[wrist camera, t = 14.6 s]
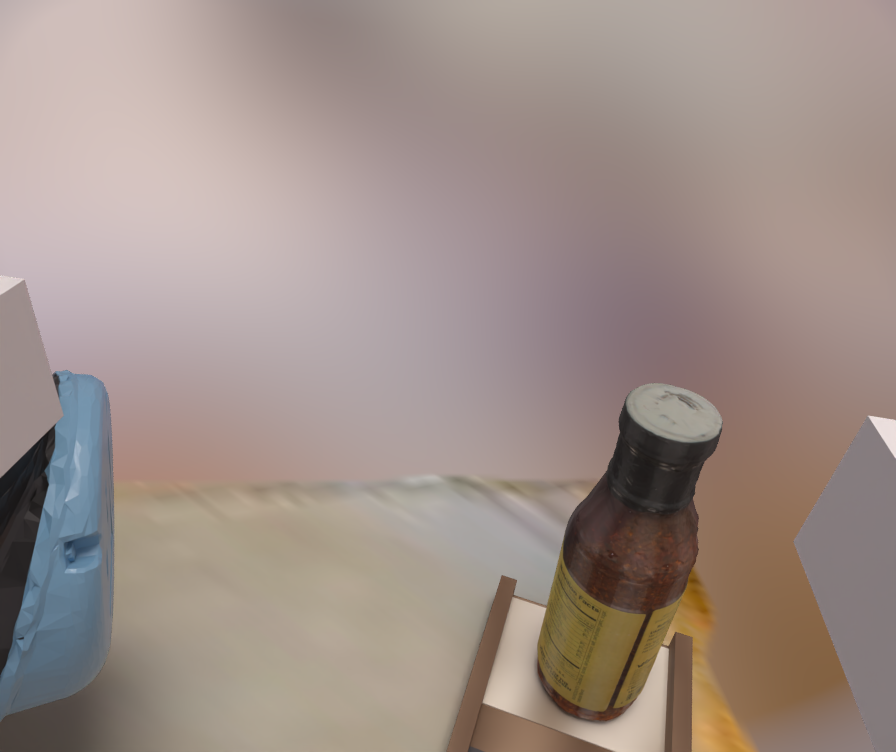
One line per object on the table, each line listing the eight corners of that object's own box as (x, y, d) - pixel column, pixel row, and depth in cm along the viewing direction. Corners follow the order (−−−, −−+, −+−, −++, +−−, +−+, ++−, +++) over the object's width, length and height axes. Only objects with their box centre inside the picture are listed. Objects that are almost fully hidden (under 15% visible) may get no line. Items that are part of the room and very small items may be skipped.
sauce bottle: (617, 626, 42) (724, 366, 31) (653, 725, 37) (797, 458, 25) (516, 630, 41) (588, 363, 30) (539, 732, 36) (636, 457, 25)
